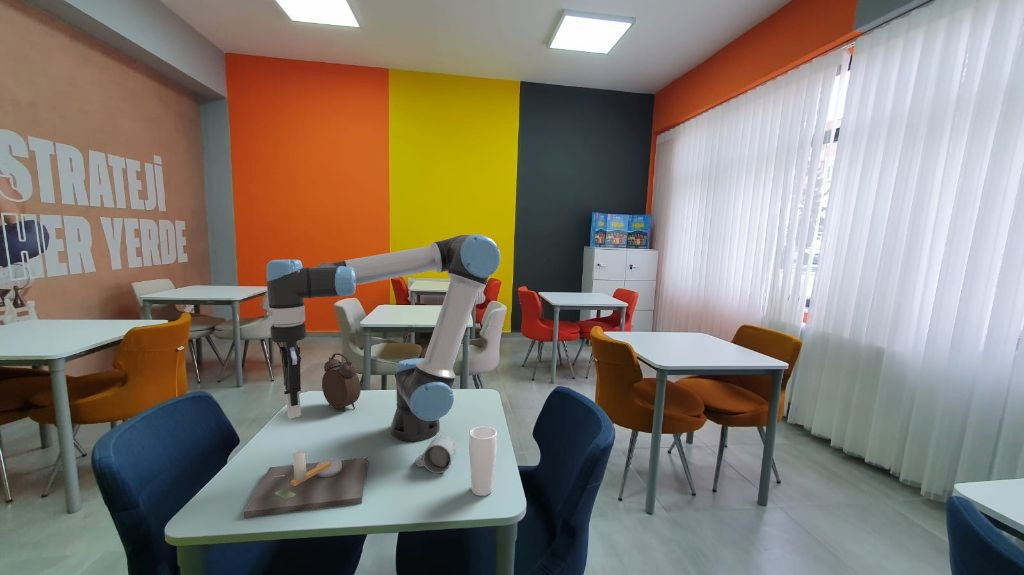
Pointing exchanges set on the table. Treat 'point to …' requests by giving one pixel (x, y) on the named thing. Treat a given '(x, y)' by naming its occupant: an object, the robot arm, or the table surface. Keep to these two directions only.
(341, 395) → the alarm clock
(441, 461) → the ceramic mug
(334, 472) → the dial
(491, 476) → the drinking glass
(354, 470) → the dial plate
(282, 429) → the table surface
